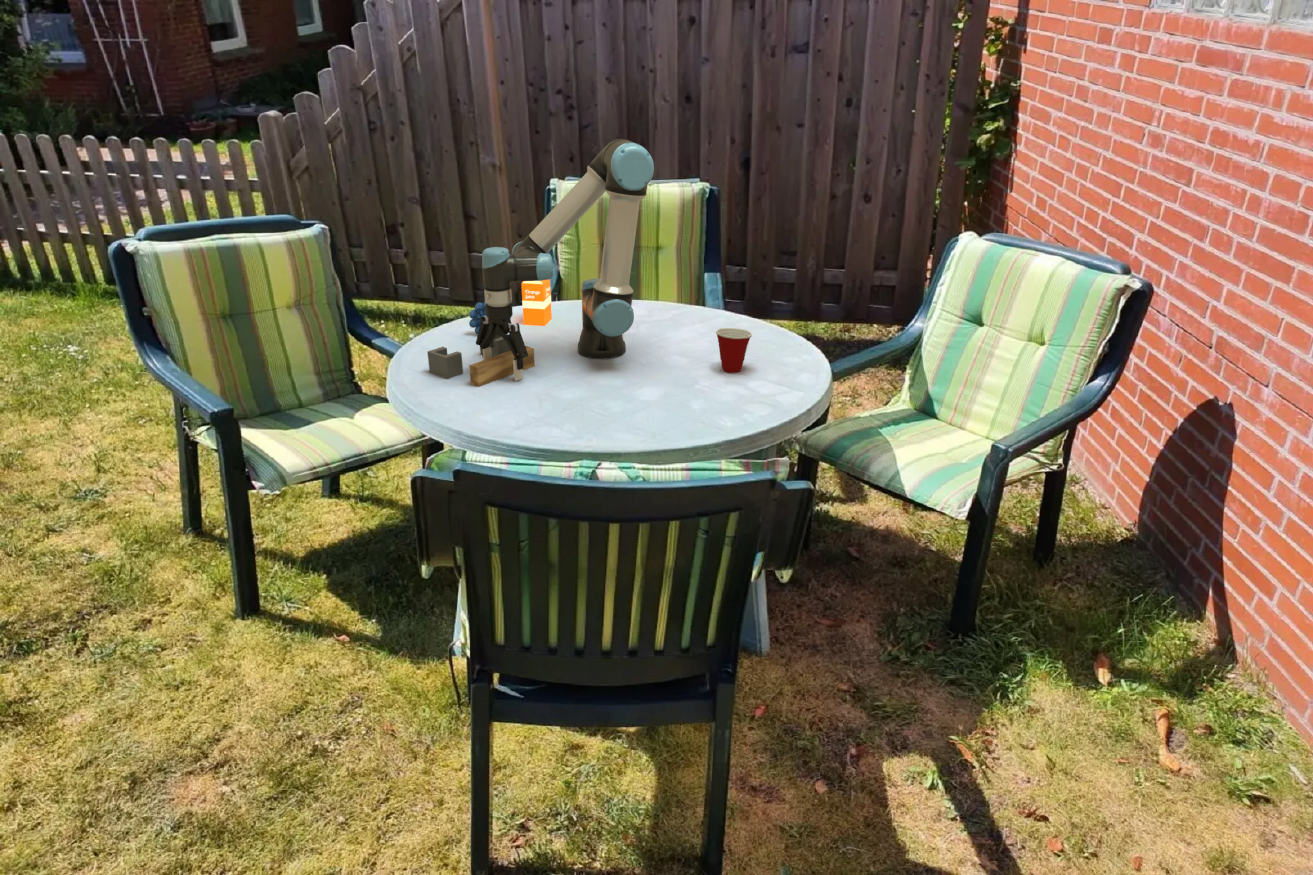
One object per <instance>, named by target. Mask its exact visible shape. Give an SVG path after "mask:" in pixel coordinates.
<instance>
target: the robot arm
mask: <svg viewBox="0 0 1313 875" xmlns="http://www.w3.org/2000/svg"><path fill="white" fill-rule="evenodd" d="M654 165H655V164H654V160H653V158H652V155H651V154H650V153H649V151H648V150H647V149H646V148H645V147H644V146H643V145H640V144H639V143H635V142H633V141H632V140H630V139H626V138H618V139H615V140H613V141H610V142H609V143H607V145H605V147H603V148H602V149H601V151H600V152H599V153H598V154H597V155H596V156H595V158H593V159H592V161H591V162H590V163H589V164H588V165H587V166H586V167H587V168H586V170H587V172H586V173H585V174H584V175H583V176H582V177H581V178H580V179H579V180H578V181H577V183H576V184H575V185H574V186H572V187H571V189H570V190H569V191H568V192H567V193H566V195H564V196H563V198H562V199H561V200H560V201H559V202H558V203H557V204H555V206H554V207H553V208H552V209H551V211H550V212H549V213H548V214H547V215H545V217H544V218H543V219H542V220H541V221H540V223H538V225H536V227H535V228H534V229H533V230H532V231H531V232H530V233H529V234H528V235H527V236H526V237H525V239H524V240H522V241H520V242H517V243H515V245H514V246H513V248H512V251H511V254H510V251H509V249H508V248H506V247H499V246H493V247H487V248H485V249H484V250H482V254H481V260H482V261H481V262H482V263H481V269H482V278H483V279H482V280H483V288H484V289H483V290H484V292H483V293H484V302H486V303H487V304H486V305H485V309H486V316H482V317H481V325H480V328H479V332H478V334H477V336H476V340H475V345H477V346H479V348H480V347H481V348H482V356H481V357H482V359H483V360H485V359H488V358H491V357H492V352H491V347H488V346H491V345H490V343H491V342H492V340H493V338H494V336H495V335H499V336H502V338H503V339H505V340H506V342H507V344H508V346H509V348H510V350H511V351H512V353H513V355H514V357H515V358H514V359H513V368H514V374H513V379H514V381H515V382H517V381H520V380H523V379H524V374H523V373H524V370H522V369H523V358H525V357H528V353H527V350H526V347H525V346H526V344H525V341H524V337H523V336H522V334H521V328H520V324H519V323H518V322H517V323H512V321H511V319H512V317H513V316H514V315H513V314H514V313H513V312H514V311H513V304H512V302H513V298H512V297H513V296H512V285H511V284H512V283H519V282H521V283H522V282H524V281H543V280H550V281H551V280H552V278H553V275H554V263H553V257H552V255H551V254H550V253H549V252H550V251H551V250H552V249H553V248H554V247H555V246H556V245H557V244H558V243H559V242H560V241H561V239H563V238H564V236H565V235H566V234H567V233H569V231H570V230H571V229H572V228H573V227H574V226H575V225H576V224H577V222H578V221H579V220H580V219H581V218H582V217H583V216H584V215H585V214H586V213H587V212H588V211H589V210H590V209H591V208H592V207H593V205H595V203H596V202H597V201H598V200H599V199H600V198H601V197H602V196H603V195H604V194H605V193H606V194H607V196H608V197H609V199H608V209H607V214H606V215H607V216H606V217H607V218H606V224H605V233H604V234H605V235H604V240H603V250H602V258H601V266H600V274H599V278H598V277H597V278H590V279H586V280H584V281H582V283H581V289H580V293H581V313H582V314H581V316H582V320H581V321H582V328H581V332H580V336H579V339H578V342H577V353H578V355H579V356H581V357H585V358H588V359H595V360H608V359H614V358H619V357H621V356H623V355H624V354H626V352H627V351H626V350H627V349H626V347H627V346H626V344H627V343H626V342H625V340H624V336H623V335H624V334H625V333H627V332H628V331H629V330H630V328H632V326H633V324H634V319H635V313H634V309H633V307H632V304H633V297H634V296H633V295H634V289H633V288H632V287H631V285H630V279H631V272H632V265H633V257H634V249H635V241H636V233H637V226H638V218H639V212H640V202H641V201H642V200H643V199H644V198H646V197H647V192H648V191H647V190H648V185H649V184H650V183H651V181H652V179H653V176H654V174H655V173H654V172H655V166H654ZM489 325H490V327H489ZM517 353H518V354H517Z"/></svg>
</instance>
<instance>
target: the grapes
mask: <svg viewBox="0 0 1313 875" xmlns="http://www.w3.org/2000/svg"><path fill="white" fill-rule="evenodd" d="M486 304H487V303H486V302H485V301H484V302H476V304H475V305H474V309H471V310H470V311H469V315H468V316H469V318H471V319H470V320H469V323H468V325H469V327H470V328H471V329H472V328H473V329H474V333H475V334H476V335H478V332H479V328H480V325H481V317H482V316H486V309H485V305H486ZM489 327H490V325H489Z"/></svg>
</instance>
